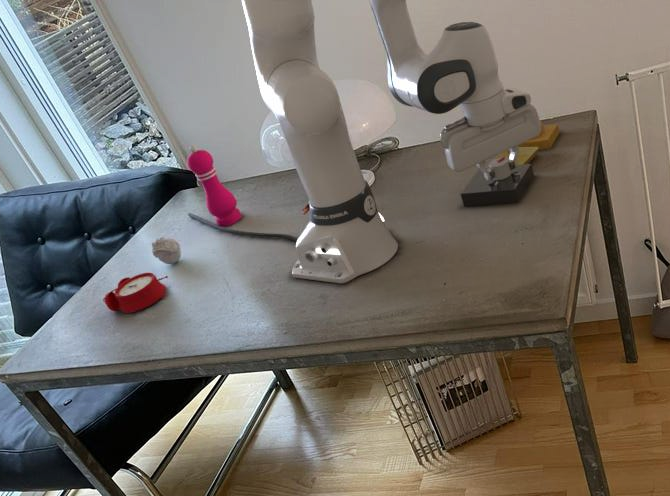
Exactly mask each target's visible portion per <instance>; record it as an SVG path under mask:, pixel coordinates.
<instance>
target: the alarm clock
mask: <svg viewBox="0 0 670 496" xmlns="http://www.w3.org/2000/svg"><path fill="white" fill-rule="evenodd" d="M164 279H168V275H166V276H163V277H161V278H157V276H156V275H155V274H154V273H153V272H143V273H139V274H137V275H134V276H132V277H130V276H129V277H123V278H121V279H120V280H119V281H118V283H117V287H116V288H115V289H113V290H110V291H109V292H107V293H106V294H105V295H104V297H103V299H102V302H104V303H105V305H106V307H107V308H108V310H109V311H112V312H117V311H119V310H120V311H121V312H123V313H126V314H128V313H129V314H130V313H135V312H138V311H142V310H144V309H146V308H148V307H149V306H152V305H153V304H155V303H156V302H157V301H159V300H160V299H161V298H162V299H164V298H165V297H166V295H165V294H166V291H167V287H166V286H165V284H163V283H162V282H160V281H162V280H164Z"/></svg>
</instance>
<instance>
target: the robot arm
mask: <svg viewBox="0 0 670 496" xmlns="http://www.w3.org/2000/svg"><path fill="white" fill-rule="evenodd" d="M240 1H241V5H242V7H243V8H242V9H243V13H244V16H245V20H246V24H247V28H248V34H249V39H250V46H251V51H252V58H253V62H254V67H255V68H254V69H255V72H256V77H257V82H258V86H259V91H260V96H261V98H262V101H263V102H264V105H266V106H267V108H268V109H269V110H270V112H272V114H273V115H274V116H275V118H276V120H277V122H278V123H279V126H280V129H281V130H282V132H283V135H284V136H283V137H284V138H285V140H286V143H287V146H288V149H289V152H290V155H291V157H292V158H291V159H292V161H293V165H294V167H295V168H294V169H295V170H296V172H297V175H298V177H299V179H300V181H301V184H302V186H303V188H304V191H305V193H306V195H307V197H308V202H307V203H306V205H305V206H304V207H303V208H302V209H301V212H303V216H305V215H307V213H309V221H308V223H307V224H306V226H305V227H304V229H303V230H302V231H301V233H300V235H299V236H298V238H297V237H295V236H293V235H290V234H285V233H267V232H266V233H264V232H254V231H253V232H252V231H245V230H237V229H232V228H228V227H221V226H218V224H217V223H213V222H210V221H208V220H206V219H204V218H203V217H200V216H198V215H196V214H194V213H192V212H188V213H187V216H188V217H191V218H193V219H195V220H197V221H199V222H201V223H203V224H205V225H207V226H210V227H212V228H214V229H217V230H220V231H223V232H228V233H232V234H236V235H243V236H250V237H251V236H252V237H264V238H284V239H289V240H291V241H293V242H295V252H296V257H297V258H298V259H297V260H296V261H295V262H294V264H293V266H292V269H291V275H292V277H293V278H295V279H302V280H311V281H319V282H327V283H335V284H346V283H348V282H350V281H351V280H354V279H355V278H357V277H359V276H362V275H364V274H366V273H370V272H372V271H374V270H376V269H378V268H380V267H381V266H383V265H384V264H386V263H388V262H389V261H390V260H391V259H392V258H393V257H394V256H395V254H396V253H397V252H398V248H399V243H398V241H397V240H396V239H395V238H394V236H393V235H392V233H391V231H390V230H389V229H388V227H387V226H386V224H385V219H384V216H383V215H381V213H380V212H379V211H378V208H377V203H376V200H375V197H374V194H373V192H372V189H371V187H370V184H369V182H368V181H367V180H366V179H365V177H364V175H363V172H362V169H361V167H360V163H359V161H358V158H357V156H356V153H355V151H354V150H355V149H354V147H353V144H352V142H351V141H352V140H351V138H350V133H349V129H348V125H347V121H346V117H345V114H344V110H343V106H342V102H341V100H340V99H341V98H340V95H339V91H338V89H337V87H336V84H335V83H334V81H333V79H332V78H331V77H330V75H328V73H326V72H325V71H323V70H322V69H321V67H320V65H319V61H318V54H317V46H316V45H317V44H316V35H315V21H316V20H315V17H316V16H315V12H314V8H313V2H312V0H240ZM368 1H369V5H370V9H371V11H372V15H373V18H374V21H375V24H376V27H377V30H378V33H379V37H380V39H381V42H382V46H383V48H384V51H385V55H386V62H387V64H386V65H387V84H388V88H389V90H390V93H391V95H392V96H393V97H394V99H395V100H396V101H397V102H399V103H400V104H402V105H404V106H407V107H411V108H415V109H418V110H421V111H424V112H428V113H430V114H434V115H442V114H446V113H449V112H451V111H452V110H454V109H455V108H457V107H459V106H460V109H461V114H462V116H463V117H461V118H460V119H458V120H456V121H454V122H452V123H448V124H446V125H445V126H444V128H443V129H442V130H441V132H440V134H439V139H440V142H441V145H442V147H443V148H444V153H445V158H446V159H445V160H446V163H447V165H448V166H447V167H449V168H450V169H451V170H452V171H454V172H456V173H461V172H463V171H465V170H468V169H470V168H472V167H473V166H476V167H477V168H478V169H481V170H482V171H483V172H484V176H485V178H486V180H488V181H489V180H491V179H493V178H495V176H494V175H493V174H494V172H493V170H491V169H490V167H488V168H489V169H486V168H487V167H485V166H486V165H487V163H486V161H487V160H489V159H492V158H494V157H497V156H498V155H499V154H500V153H502V152H505V151H507V150H510V151H511V153H510V158H509V159H508V161H509V165H510V169H511V170H512V169H514V168H517V167H518V166H517V162H516V159H517V156H518V152H519V147H518V145H520V144H522V143H524V142H526V141H529V140H531V139H533V138H535V137H537V136H539V135H540V133H541V129H542V128H541V123H540V121H541V120H540V116H539V114H538V111H537V109H536V107H535V106H534V105H533V104H532V103H531V102H532V97H531V95H530V93H529V92H527V91H525V90H522V89H519V88H515V87H510V88H504V85H503V82H502V81H501V79H500V77H499V76H500V75H499V64H498V59H497V56H496V55H497V54H496V52H495V49H494V45H493V43H492V39H491V37H490V35H489V32H488V30H487V28H486V27H485V26H484V25H482V24H481V23H479V22H476V21H475V22H474V21H466V22H465V21H464V22H463V21H462V22H457V23H453V24H449V26H447V27H444V29H443V33H442V35H441V37H440V39H439V40H438V42H437V43H436V45H435V46H434V48H433V49H432V50H431V51H430V52H429V53H426V52H425V51H424V50H423V49H422V47H421V46H420V45H419V42H418V39H417V36H416V33H415V29H414V27H413V23H412V20H411V16H410V13H409V9H408V4H407V0H368Z"/></svg>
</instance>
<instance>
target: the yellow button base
mask: <svg viewBox="0 0 670 496" xmlns="http://www.w3.org/2000/svg"><path fill="white" fill-rule="evenodd" d="M540 123H541V128H542V129H541V133H540V135H539V136H537V137H535V138H533V139H531V140H529V141H526V142H524V143H522V144H520V145H518V147H539V149H538V151H542V150H550V148H552V146H553V145H554V143H555V141H556V140H557V138H558V136H559V135H560V129H559V124H558V123H557V124H549V125H544V123H543V122H542V121H541V120H540Z"/></svg>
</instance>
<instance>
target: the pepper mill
mask: <svg viewBox="0 0 670 496" xmlns="http://www.w3.org/2000/svg"><path fill="white" fill-rule="evenodd" d="M189 151H190V154H189V155H188V156H187V159H186V165H187V167H188V169H189V170H190V171H191V172H193V173H194V175H195V176H194V177H196V180H197V181H198V182H200V183H201V185H202V187H203V189H204V192H205V205H206V208H207V211H208V213H209V214H210V215H211V216H213V217H214V218H215V219H214V220H215V222H216V225H218V226H221V227H224V228H226V227H229V226H231V225H234V224H235V223H237V222H238V221H240V220H241V219H242V215H243V214H242V213H241V211H240V209H239V208H237V205H238V202H237V198H236V197H235V195H234V194H233V193H232V192H231V191H229V189H227V188H226V187H225V186H224V185H223V184H222V182H221V181H220V179H219V178H218V170H216V166H214V158H213V156H212V155H211V153H210V152H208V151H207V150H205V149H199V148H198V147H197V145H195V144H193V145H191V146H190V147H189Z"/></svg>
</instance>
